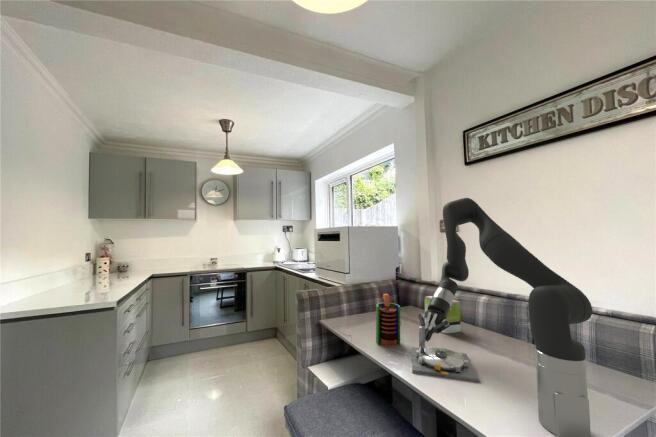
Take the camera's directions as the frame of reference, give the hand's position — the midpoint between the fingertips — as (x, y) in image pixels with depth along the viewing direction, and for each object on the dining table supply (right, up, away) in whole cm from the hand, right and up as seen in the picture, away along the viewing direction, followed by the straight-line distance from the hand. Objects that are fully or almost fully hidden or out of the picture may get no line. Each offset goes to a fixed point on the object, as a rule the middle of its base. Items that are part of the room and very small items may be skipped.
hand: (424, 339), depth 102 cm
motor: (-11, -8, +15) cm, 20 cm away
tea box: (+21, -10, +35) cm, 42 cm away
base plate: (+4, -6, -5) cm, 9 cm away
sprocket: (+4, -5, -5) cm, 8 cm away
